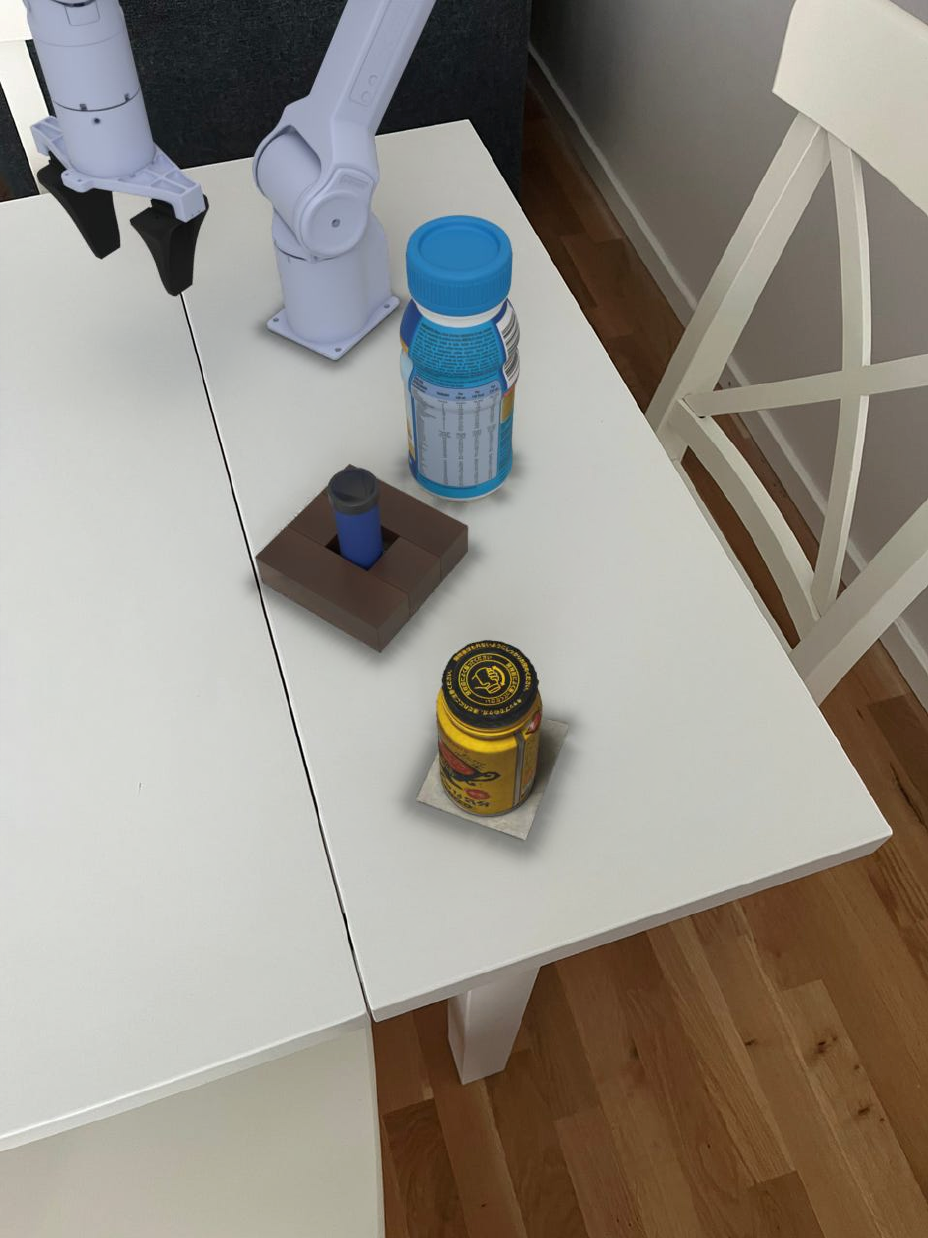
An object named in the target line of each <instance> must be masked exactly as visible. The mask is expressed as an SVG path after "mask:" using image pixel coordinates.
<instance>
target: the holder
mask: <svg viewBox="0 0 928 1238" xmlns="http://www.w3.org/2000/svg"><path fill="white" fill-rule="evenodd" d="M347 468H358V467H357V466H355V465H353V464H351V463H348V465H346V466H345V467H344V469H347ZM376 478H377V477H376ZM377 480H378V482H379V490H380V498H379V501H378V508H379V517H380V526H381V535H382V544H383V555H382V556H381V557H380V559H379V560H378V561H377V562H376V563H375V564H374V565H373V566H372V567H371V568H370V569H369V570H368V571H366V570H364V569H362V568H361V567H359V566H357V565H355V564H354V563H352V562H350V561H348V560H346V559H345V558H343V557H342V556H341V550H340V544H339V538H338V532H337V526H336V520H335V514H334V508H333V507H332V505H331V504H330V501H329V497H328V491H327V487H328V484H327V485H326V486H325V487H324V488H323V489H322V490H321V491H320V492H319V493H318V494H317V495H316V496H314V498H313V499H312V500H311V501H310V502H309V503H308V504H307V505H306V506H305V507H304V508H303V509H302V510H301V511H300V512H299V513H297V515H296V516H295V517H294V518H293V519H292V520H291V521H290V522H288V524H287V525H286V526H285V527H284V528H283V529H281V530H280V532H279V533H277V535H276V536H275V537H273V539H272V540H271V541H269V542H268V543H267V544H266V545H265V547H263V549H261V551H259V552H258V553H257V554H256V555H255V556H254V559H255V563H256V566H257V570H258V573H259V577H260V580H261V583H263V585H266V586H268V587H269V588H271V589H272V590H274V591H276V592H278V593H279V594H281V595H283V596H284V597H286V598H287V599H289V600H291V601H292V602H294V603H296V604H297V605H300V606H301V607H302V608H305V609H306V610H307V611H309V612H311V613H313V614H315V615H316V616H318V617H320V618H321V619H323V620H324V621H327V622H328V623H330V624H331V625H333V626H335V627H336V628H337V629H340V630H341V631H343V632H345V633H347V634H348V635H350V636H351V637H353V638H355V639H356V640H358V641H360V642H361V643H363V644H365V645H367V646H368V647H370V648H372V649H374V650H375V651H377V653H382V652H383V650H384V649H385V648H386V647H387V646H388V645H389V643H390V642H391V641H392V640H393V639H394V638H395V636H396V635H397V634H398V633H399V632H400V631H401V630H402V629H403V628H404V626H405V625H406V624H407V622H408V621H409V620H410V619H411V618H412V617H413V616H414V615H415V614H416V612H417V611H418V610H419V609H420V608H421V607H422V605H423V604H424V603H425V602H426V601H427V599H429V597H430V596H431V595H432V593H433V592H434V591H435V590H436V589H437V588H438V587H439V585H441V584H442V582H443V581H445V579H446V578H447V577H448V575H450V573H451V572H452V571H453V570H454V568H455V567H456V566H457V565H458V564H459V563H460V561H461V560H462V559H463V558H464V557H465V555H467V553H468V551H469V525H467V524H466V523H463V522H461V521H460V520H458V519H456V518H454V517H453V516H450V515H449V514H446V513H444V512H443V511H440V510H439V509H437V508H434V507H433V506H432V505H429V504H427V503H426V502H423V501H422V500H419V499H418V498H415V497H414V496H412V495H410V494H408V493H406V492H404V491H402V490H401V489H399V488H397V487H396V486H393V485H392V484H389V483H387V482H385V481H383V480H382V479H379V478H377Z"/></svg>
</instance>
